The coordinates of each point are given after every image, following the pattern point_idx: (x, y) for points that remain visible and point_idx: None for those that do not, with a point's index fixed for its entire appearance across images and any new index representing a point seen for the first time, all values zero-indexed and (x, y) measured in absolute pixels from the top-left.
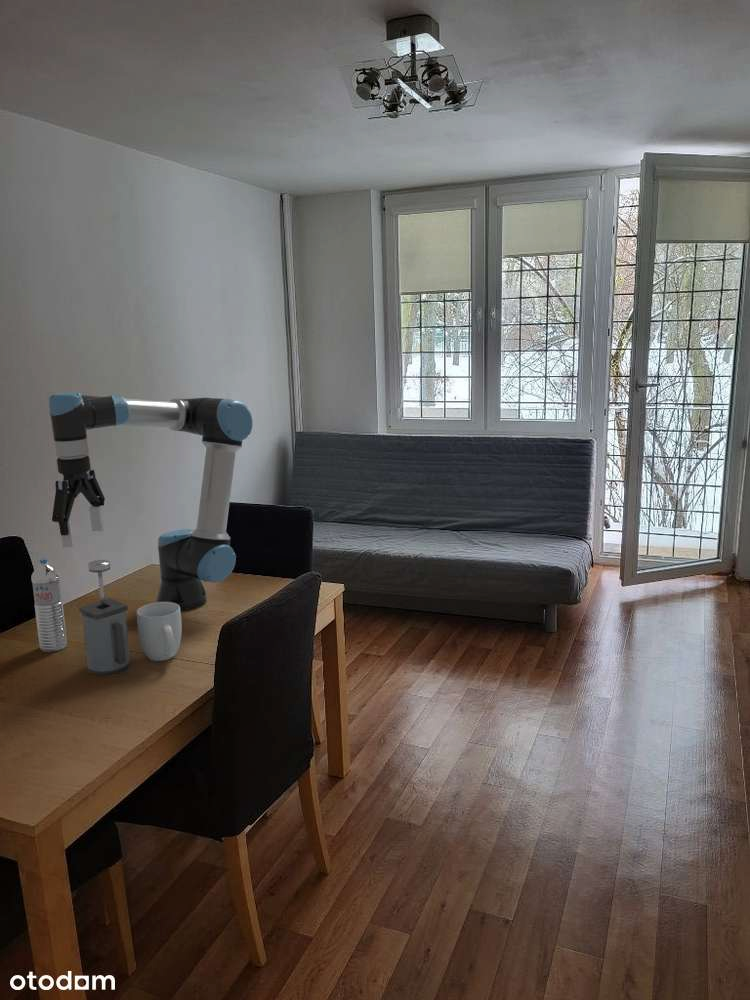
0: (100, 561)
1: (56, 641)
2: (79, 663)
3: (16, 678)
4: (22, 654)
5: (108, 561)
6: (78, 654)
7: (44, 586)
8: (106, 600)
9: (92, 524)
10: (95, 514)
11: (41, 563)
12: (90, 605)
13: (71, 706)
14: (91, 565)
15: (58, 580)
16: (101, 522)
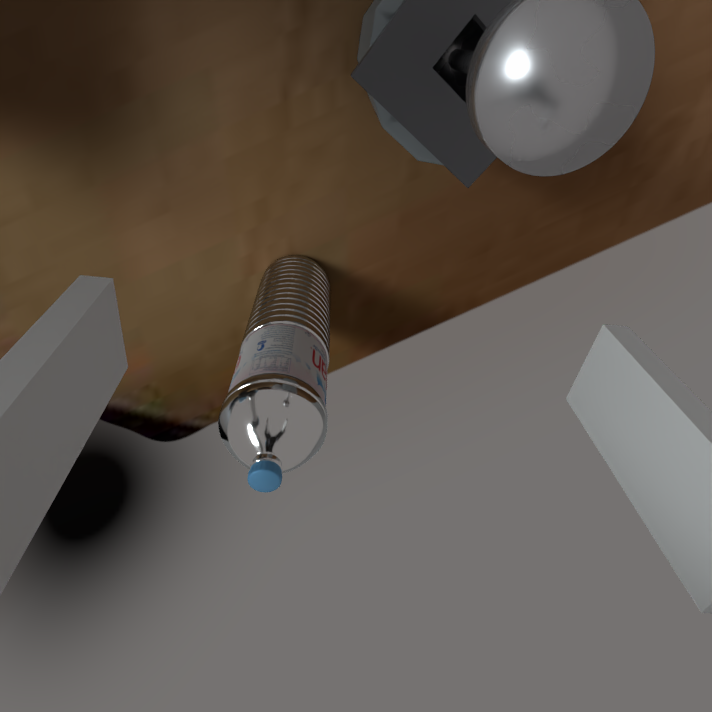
0: (524, 89)
1: (320, 276)
2: (398, 165)
3: (476, 291)
4: (341, 339)
5: (536, 4)
6: (336, 196)
7: (322, 394)
8: (387, 82)
9: (101, 400)
10: (33, 448)
11: (281, 472)
12: (451, 141)
13: (683, 62)
14: (620, 126)
15: (266, 372)
16: (51, 326)
